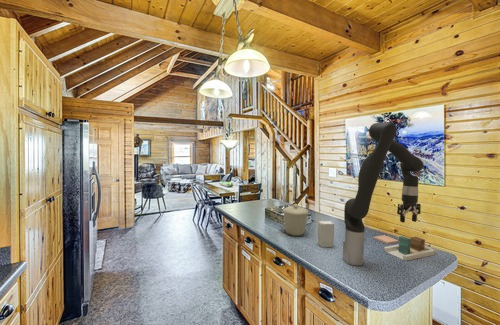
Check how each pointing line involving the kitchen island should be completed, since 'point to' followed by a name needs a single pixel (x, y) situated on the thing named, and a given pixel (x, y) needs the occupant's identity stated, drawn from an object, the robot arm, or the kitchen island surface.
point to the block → (417, 243)
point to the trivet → (385, 239)
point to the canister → (295, 220)
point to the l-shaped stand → (406, 246)
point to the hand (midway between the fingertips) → (408, 221)
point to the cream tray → (395, 252)
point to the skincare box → (326, 233)
